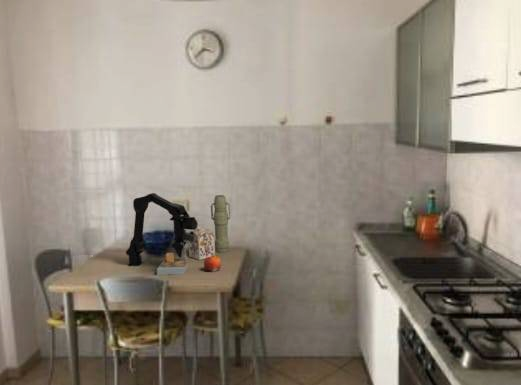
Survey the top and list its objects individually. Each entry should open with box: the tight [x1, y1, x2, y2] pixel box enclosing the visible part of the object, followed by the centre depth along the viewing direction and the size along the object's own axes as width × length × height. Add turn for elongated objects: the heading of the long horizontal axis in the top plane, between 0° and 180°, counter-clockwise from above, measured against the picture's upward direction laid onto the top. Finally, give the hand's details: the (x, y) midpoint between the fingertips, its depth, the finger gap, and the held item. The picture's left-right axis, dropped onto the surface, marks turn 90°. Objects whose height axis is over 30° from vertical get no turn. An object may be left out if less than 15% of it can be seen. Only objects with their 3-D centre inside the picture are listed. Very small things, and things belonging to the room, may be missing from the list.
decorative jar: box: [188, 226, 216, 261], centre depth 296 cm, size 12×12×18 cm
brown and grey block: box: [162, 248, 189, 267], centre depth 269 cm, size 12×8×8 cm, turn 90°
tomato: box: [203, 255, 222, 272], centre depth 267 cm, size 9×9×8 cm
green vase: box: [210, 194, 231, 253], centre depth 307 cm, size 9×12×35 cm
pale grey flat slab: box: [156, 261, 189, 276], centre depth 270 cm, size 14×16×3 cm
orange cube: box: [165, 252, 176, 262], centre depth 269 cm, size 4×4×4 cm
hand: (180, 256), depth 269 cm, fingers closed on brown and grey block, 3 cm apart
